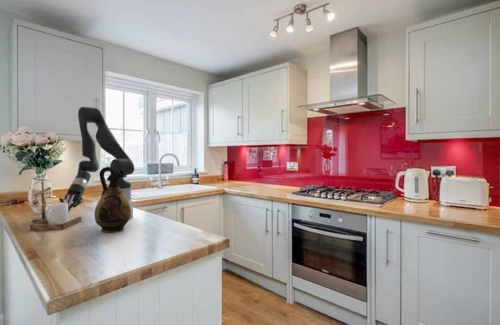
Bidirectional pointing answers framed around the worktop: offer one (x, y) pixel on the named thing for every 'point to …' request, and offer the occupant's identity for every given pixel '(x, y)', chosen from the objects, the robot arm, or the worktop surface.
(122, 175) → the ceramic jug
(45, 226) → the tray frame
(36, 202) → the balance
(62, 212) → the mug
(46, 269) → the worktop surface
